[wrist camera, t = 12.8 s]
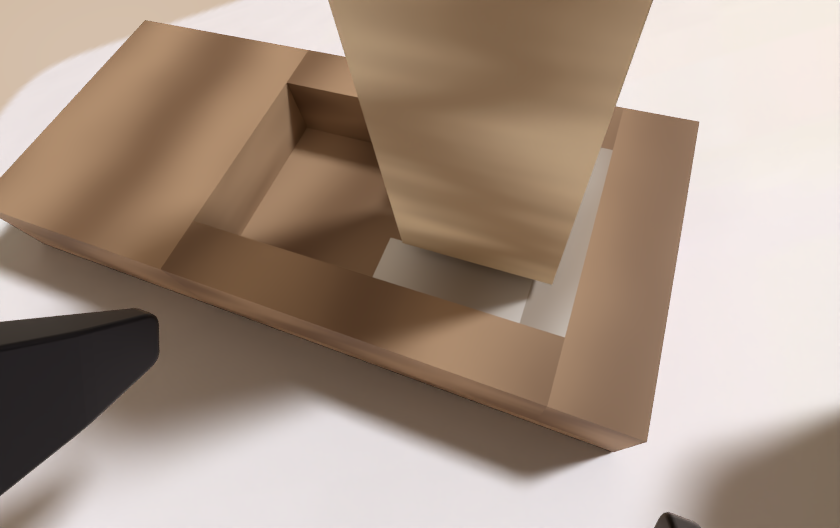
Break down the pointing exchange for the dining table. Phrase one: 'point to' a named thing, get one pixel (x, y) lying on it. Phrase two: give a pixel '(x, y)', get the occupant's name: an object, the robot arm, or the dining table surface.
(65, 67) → the dining table surface
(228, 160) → the keyhole board
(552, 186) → the peg
